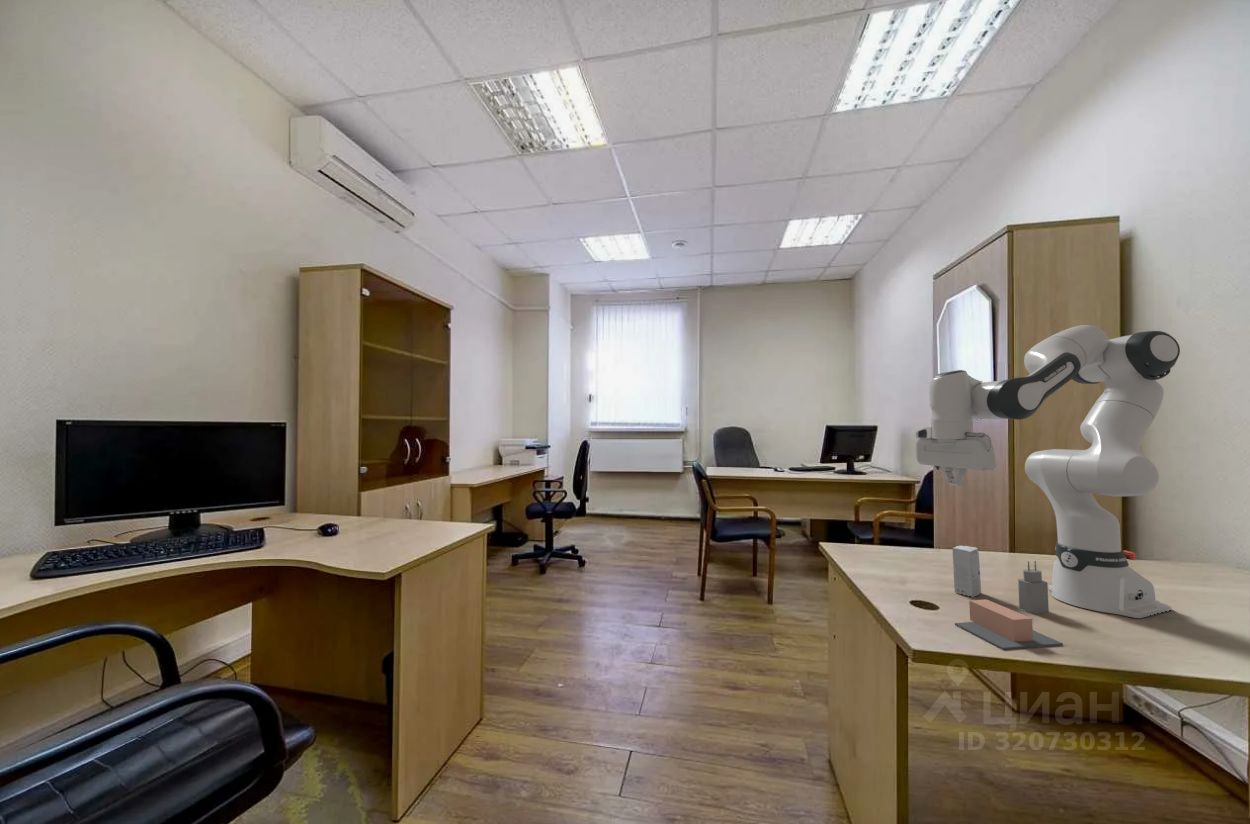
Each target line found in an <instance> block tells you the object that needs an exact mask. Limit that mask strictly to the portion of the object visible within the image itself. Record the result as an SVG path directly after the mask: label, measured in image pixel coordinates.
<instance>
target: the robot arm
mask: <svg viewBox="0 0 1250 824" xmlns="http://www.w3.org/2000/svg"><path fill="white" fill-rule="evenodd" d="M1180 353H1181V349H1180V344H1179V343H1178V341H1177V339H1176V338H1175V337H1173V336H1172V335H1171V334H1169V333H1167V332H1165V331H1161V330H1148V331H1146V330H1145V331H1140V332H1136V333H1133V334H1128V335H1123V336H1118V337H1115V338H1111V339H1109V337H1108V335H1107V333H1106V332H1105V331H1104V330H1102V328H1100V327H1097V326H1095V325H1090V324H1081V325H1076V326H1072V327H1069V328H1067V329H1064V330H1061V331H1059V332H1057V333H1055V334H1053V335H1050V336H1049V337H1046V338H1045V339H1043V340H1041V341H1040V342H1038V343H1036V344H1035V345H1033V346H1032V347H1030V349H1029V350H1028V351H1026V353H1025V354H1024V357H1023V365H1024V368H1025V370H1026V372H1027V373H1029V374H1028V375H1026V376H1023V377H1022V376H1021V377H1014V378H1007V379H1003V380H993V381H986V382H985V381H984V382H983V381H981V380H978V379H976V378H974V377H972V376H971V375H969V374H968V372H967V370H963V369H958V370H951V371H946V372H941V373H937V374H935V375H933V377H932V378H931V381H930V384H929V408H930V411H931V417H930V425H928V426H926V427H924V428H921V429H918V430H917V431H916V432H915V437H916V439H917V441H916V443H915V446H916V447H915V449H916V450H915V452H916V460H917V461H916V462H918V464H920V465H923V466H934V467H941V471H942V473H943V475H944V477H945V478H946V479H945V480H946V484H947V485H952V486H956V487H957V486H962V485H963V478H964V477H965V475H966V474H967V470H971V471H972V470H973V471H980V472H981V471H982V472H984V471H985V472H987V471H994V470H995V468H996V467H997V460H996V456H995V455H996V454H995V450H994V447H993V442H992V441H993V440H992V438H991V437H990V436H989V435H988V434H986V433H985V432H974V423H973V421H974V419H976V420H986V419H987V420H991V419H993V420H994V419H996V420H997V419H998V420H999V419H1004V420H1005V419H1006V420H1024V419H1028V418H1030V417H1031V416H1033V415H1035V414H1036V413H1037V412H1038V409H1040V407H1041V406H1042V404H1043V403H1044V402H1045V401H1046V399H1047V398H1049V397H1050V396H1051V395H1053V394H1054V393H1055V392H1056V391H1058V390H1059V389H1061V388H1062V387H1063V386H1065V385H1066V384H1067V383H1068V382H1069V381H1071V380H1073V381H1074V382H1076V383H1077V384H1083V385H1084V384H1085V385H1093V384H1094V385H1095V384H1101V383H1104V390H1103V392H1102V394H1101V395H1100V396H1099V397H1098V398H1097V400H1095V402H1094V404H1093V405H1092V407H1091V408H1090V410H1089V411H1088V413H1087V415H1086V416H1085V418H1084V420H1082V422H1081V424H1080V427H1079V429H1080V433H1081V436H1082V437H1083V439H1084V440H1086V441H1087V442H1088V443H1090V444H1091V446H1090V447H1089V448H1087V449H1069V448H1068V449H1063V448H1051V449H1044V450H1038V451H1034V452H1032V453H1031V454H1030V455H1028V456H1027V458H1026V460H1025V462H1024V463H1025V464H1024V471H1025V475H1026V476H1027V477H1028V479H1029V480H1030V481H1031V482H1032V483H1034V484H1035V486H1038V488H1039V489H1041V491H1043V493H1044V495H1045V496H1046V497H1047V499H1048V500H1049V502H1050V504H1051V507H1052V510H1053V512H1054V516H1055V521H1056V522H1055V523H1056V534H1057V541H1056V542H1055V546H1054V548H1055V549H1054V550H1055V556H1056V557H1057V559H1055V561H1054V562H1053V569H1052V580H1051V581H1052V582H1051V584H1049V585H1048V591H1049V590H1050V591H1051V592H1050V593H1051V596H1052V597H1053V598H1055V599H1056V600H1058V601H1061V602H1062V603H1063V602H1064V603H1065V604H1069V605H1072V606H1075V607H1078V608H1083V609H1088V610H1091V611H1096V612H1101V613H1108V614H1114V615H1120V616H1124V617H1128V618H1129V617H1130V618H1134V619H1142V618H1145V617H1150V615H1151V616H1154V614H1155V615H1158V614H1157V613H1159V614H1162V613H1161V612H1163V613H1166V612H1165V611H1167V612H1170V611H1169V610H1171V611H1172V606H1171V605H1169V604H1168V603H1165V602H1163V601H1160V600H1157V599H1156V591H1155V587H1154V585H1153V583H1152V582H1151V581H1150V580H1148V579H1147V578H1145V577H1144V576H1143V575H1141V574H1140V573H1139V572H1137V571H1136V570H1134V569H1133V568H1132V567H1130V566H1129V561H1128V560H1131V561H1136V560H1137V558H1138V554H1137V553H1136V552H1133V551H1128V550H1122V547H1121V546H1122V544H1121V542H1122V541H1121V524H1120V522H1119V519H1118V518H1117V516H1116V515H1115V514H1113V513H1112V512H1110V511H1109V510H1106V509H1105V508H1103V507H1102V506H1101V505H1100V504H1099V502H1097V501H1098V500H1096V499H1095V497H1094V495H1093V494H1095V495H1103V496H1109V497H1110V496H1111V497H1141V496H1145V495H1148V494H1150V493H1151V492H1152V491H1153V490H1155V488H1156V487H1157V485H1158V483H1159V480H1160V479H1159V478H1160V477H1159V475H1160V474H1159V471H1158V469H1157V467H1156V465H1155V464H1154V463H1153V462H1152V461H1151V460H1150V459H1149V458H1147V457H1146V456H1144V454H1142V451H1141V444H1142V441H1143V440H1144V437H1145V436H1146V433H1147V431H1148V430H1149V428H1150V427H1151V425H1152V423H1153V421H1154V420H1155V418H1156V416H1157V415H1158V413H1159V411H1160V409H1161V405H1162V402H1163V399H1164V394H1165V390H1164V388H1163V386H1162V385H1161V383H1159V382H1158V380H1161V379H1163V378H1165V377H1167V376H1168V375H1169V374H1170V373H1171V369H1172V368H1173V367H1174V366H1175V365H1176V363H1177V362H1178V359H1179V357H1180ZM953 472H954V473H955V475H954V473H953Z"/></svg>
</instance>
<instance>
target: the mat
mask: <svg viewBox="0 0 1250 824" xmlns="http://www.w3.org/2000/svg"><path fill="white" fill-rule="evenodd" d="M956 625H957V626H956ZM954 626H956V627H958V626H959V627H958V628H960V629H962V630H964V631H966V632H968V633H969V632H970V633H969V634H971V635H973V636H976V637H977V638H980V639H981V640H983V641H986V642H987V643H989V644H991V645H992V646H995V647H996V648H998V649H1000V650H1004V651H1005V650H1018V649H1028V648H1042V647H1043V648H1044V647H1045V648H1046V647H1056V646H1057V647H1058V646H1064V645H1063V642H1061V641H1059V640H1056V639H1054V638H1052V637H1050V636H1047V635H1045V634H1043V633H1041V632H1039V631H1036V630H1034V629H1033V640H1030V641H1017V642H1014V641H1012V640H1010V639H1008V638H1006V637H1003V636H1001V635H999V634H997V633H995V632H993V631H991V630H989V629H987V628H985V627H983V626H981V625H979V624H977V623H975V622H973V621H968V622H967V621H965V622H955V623H954Z"/></svg>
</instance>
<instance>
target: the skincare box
mask: <svg viewBox="0 0 1250 824" xmlns="http://www.w3.org/2000/svg"><path fill="white" fill-rule="evenodd" d="M951 551H952V564H953V566H952V567H953V585H954V586H953V587H954V593H955V592H956V594H958V593H960V594H959V595H961V594H963V595H962V596H965V595H968V596H967V597H969V596H971V597H970V598H975V597H976V596H979V595H981V593H982V586H981V585H982V583H981V569H980V565H981V564H980V556H979V555H980V553H979V548H978V547H975V546H974V547H973V546H968V545H957V546H954V547H953V548H952V550H951ZM978 594H979V595H978Z"/></svg>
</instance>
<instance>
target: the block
mask: <svg viewBox="0 0 1250 824" xmlns="http://www.w3.org/2000/svg"><path fill="white" fill-rule="evenodd" d="M968 603H969V605H968V606H969V621H970V622H975V623H977V624H979V625H981V626H983V627H985V628H987V629H989V630H991V631H993V632H995V633H997V634H999V635H1001V636H1003V637H1006V638H1008V639H1010V640H1012V641H1014V642H1017V641H1030V640H1033V630H1034V628H1033V627H1034V626H1033V618H1031V617H1029V616H1027V615H1025V614H1023V613H1020V612H1017V611H1015V610H1013V609H1011V608H1008V607H1007V606H1006V607H1005V606H1003V605H1001V604H998V603H996V602H994V601H991V600H990V599H989V600H988V599H974V600H969V602H968Z"/></svg>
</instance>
